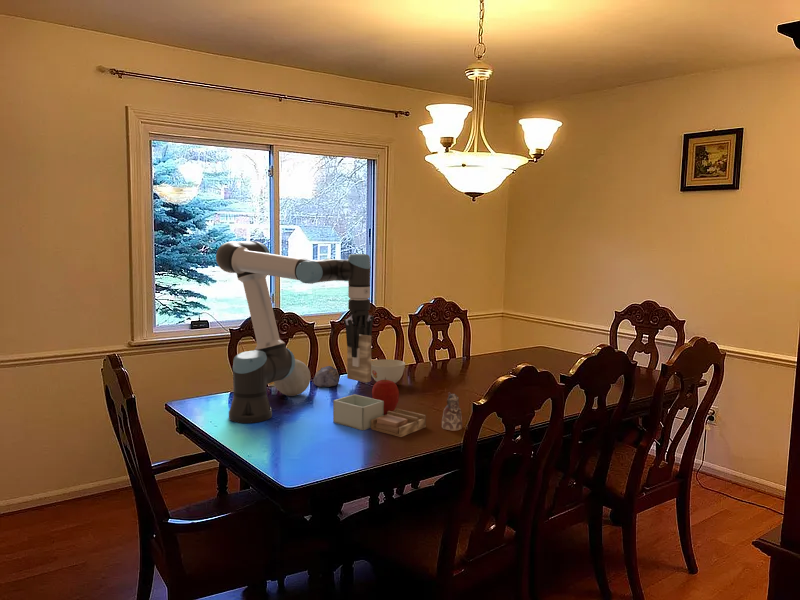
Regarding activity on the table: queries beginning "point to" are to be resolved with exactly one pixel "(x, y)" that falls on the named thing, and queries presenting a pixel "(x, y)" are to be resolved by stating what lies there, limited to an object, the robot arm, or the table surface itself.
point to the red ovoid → (386, 394)
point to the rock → (326, 377)
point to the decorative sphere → (295, 380)
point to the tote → (357, 411)
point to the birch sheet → (365, 360)
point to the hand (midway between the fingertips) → (359, 365)
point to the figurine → (452, 414)
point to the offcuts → (390, 423)
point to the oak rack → (414, 421)
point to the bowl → (387, 369)
